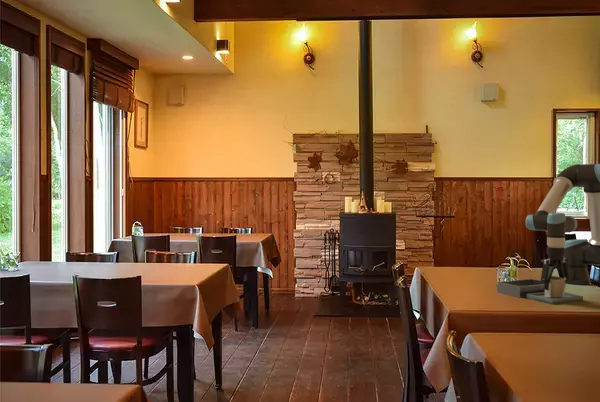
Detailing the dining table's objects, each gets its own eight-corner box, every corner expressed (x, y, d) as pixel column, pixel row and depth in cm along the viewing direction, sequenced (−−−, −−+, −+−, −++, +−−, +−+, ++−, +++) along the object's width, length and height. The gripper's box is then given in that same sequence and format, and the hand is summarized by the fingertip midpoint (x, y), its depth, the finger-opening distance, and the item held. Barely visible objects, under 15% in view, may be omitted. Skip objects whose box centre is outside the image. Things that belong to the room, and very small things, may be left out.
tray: (556, 294, 271) (557, 290, 271) (582, 300, 259) (583, 296, 259) (526, 298, 262) (526, 293, 262) (551, 304, 250) (551, 299, 250)
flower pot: (568, 299, 255) (568, 279, 255) (545, 298, 257) (546, 279, 257) (563, 295, 264) (563, 276, 264) (541, 294, 266) (541, 275, 266)
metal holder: (531, 288, 287) (531, 278, 287) (554, 293, 274) (555, 283, 274) (497, 292, 277) (497, 281, 276) (519, 297, 264) (520, 286, 264)
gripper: (564, 244, 268) (563, 292, 269) (532, 246, 259) (531, 296, 259) (578, 246, 261) (577, 295, 262) (546, 248, 252) (545, 299, 253)
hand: (554, 296), depth 261 cm, fingers closed on flower pot, 8 cm apart
